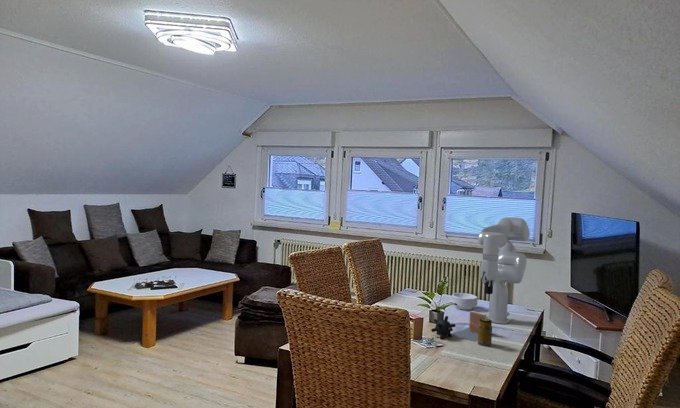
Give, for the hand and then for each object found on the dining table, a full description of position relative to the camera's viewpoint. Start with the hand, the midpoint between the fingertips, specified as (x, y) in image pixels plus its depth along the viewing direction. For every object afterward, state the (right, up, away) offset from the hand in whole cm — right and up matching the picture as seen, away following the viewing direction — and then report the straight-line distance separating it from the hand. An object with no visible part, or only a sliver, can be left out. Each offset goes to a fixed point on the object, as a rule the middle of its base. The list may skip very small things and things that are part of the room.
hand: (488, 293), depth 235 cm
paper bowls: (0, -18, +46) cm, 49 cm away
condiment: (-9, -20, -24) cm, 32 cm away
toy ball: (-26, -19, -14) cm, 35 cm away
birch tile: (-7, -19, -6) cm, 21 cm away
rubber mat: (-10, -19, -8) cm, 23 cm away
